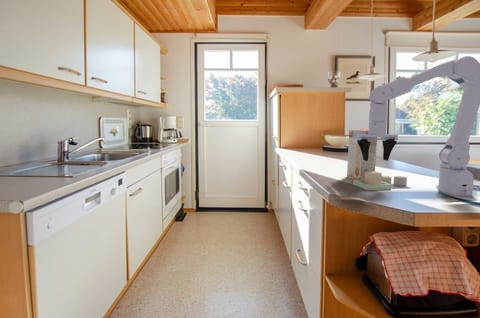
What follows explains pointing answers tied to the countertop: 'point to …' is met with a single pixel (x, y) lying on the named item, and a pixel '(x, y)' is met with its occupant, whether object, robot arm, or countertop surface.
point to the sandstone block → (372, 178)
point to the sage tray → (371, 187)
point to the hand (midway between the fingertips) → (375, 160)
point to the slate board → (399, 187)
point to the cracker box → (360, 156)
